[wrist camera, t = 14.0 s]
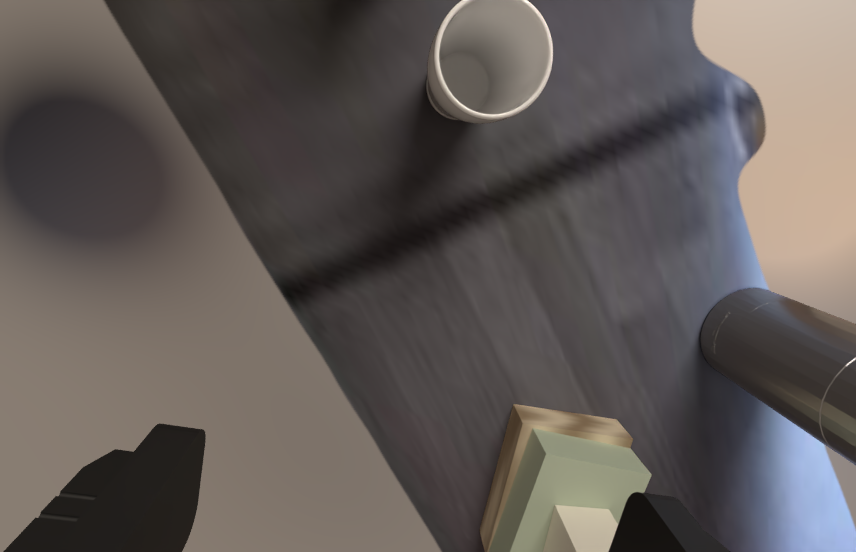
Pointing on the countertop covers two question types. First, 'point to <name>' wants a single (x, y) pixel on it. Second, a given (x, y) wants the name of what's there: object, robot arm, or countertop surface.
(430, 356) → the countertop surface
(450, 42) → the tall white cup
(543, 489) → the sage slab
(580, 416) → the brown wooden slab
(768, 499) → the countertop surface
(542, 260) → the countertop surface
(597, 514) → the cream block
